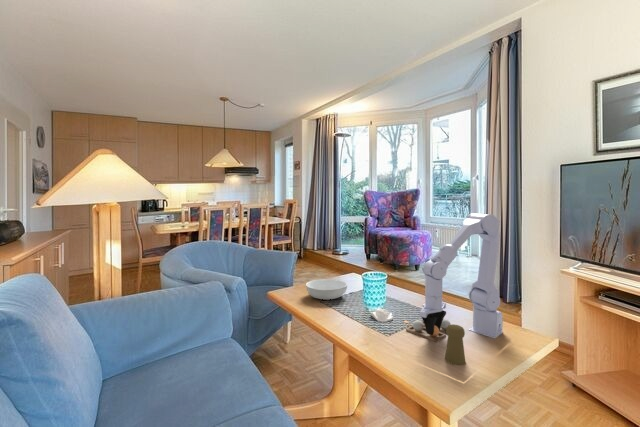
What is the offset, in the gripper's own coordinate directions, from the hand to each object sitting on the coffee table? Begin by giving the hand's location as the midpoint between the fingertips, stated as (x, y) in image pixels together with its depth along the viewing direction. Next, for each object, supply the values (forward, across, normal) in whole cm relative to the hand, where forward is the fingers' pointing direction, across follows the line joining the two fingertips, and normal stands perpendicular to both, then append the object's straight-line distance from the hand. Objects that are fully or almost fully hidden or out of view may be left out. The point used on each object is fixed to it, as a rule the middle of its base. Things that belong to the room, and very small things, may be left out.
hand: (433, 332), depth 115 cm
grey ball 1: (+2, 0, -6) cm, 6 cm away
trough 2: (+2, -8, -3) cm, 9 cm away
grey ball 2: (+2, -8, 0) cm, 9 cm away
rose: (+2, -1, -24) cm, 24 cm away
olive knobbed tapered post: (+2, +10, +13) cm, 17 cm away
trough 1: (+2, 0, -3) cm, 4 cm away
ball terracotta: (+2, 0, 0) cm, 2 cm away
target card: (+2, -4, -12) cm, 13 cm away
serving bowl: (+2, -4, -60) cm, 60 cm away
